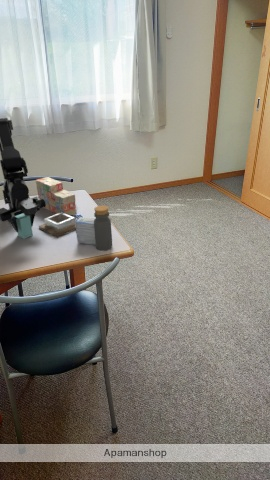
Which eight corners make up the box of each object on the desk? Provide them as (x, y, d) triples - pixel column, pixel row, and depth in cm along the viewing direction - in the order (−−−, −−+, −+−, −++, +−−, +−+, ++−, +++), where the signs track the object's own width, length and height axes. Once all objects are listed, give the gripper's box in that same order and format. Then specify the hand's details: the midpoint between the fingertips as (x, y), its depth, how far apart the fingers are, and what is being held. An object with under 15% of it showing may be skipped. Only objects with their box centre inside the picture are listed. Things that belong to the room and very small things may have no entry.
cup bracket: (45, 225, 141) (44, 218, 140) (62, 218, 147) (61, 212, 145) (58, 231, 136) (57, 224, 135) (75, 224, 142) (74, 217, 140)
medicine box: (101, 239, 132) (100, 218, 128) (97, 245, 128) (95, 223, 124) (81, 237, 133) (79, 216, 129) (77, 243, 130) (74, 221, 126)
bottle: (110, 251, 124) (108, 211, 117) (94, 250, 125) (90, 211, 118) (113, 243, 129) (111, 205, 122) (98, 242, 130) (94, 204, 123)
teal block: (17, 235, 136) (14, 216, 132) (26, 231, 139) (23, 213, 135) (23, 238, 134) (20, 219, 130) (32, 234, 136) (29, 215, 133)
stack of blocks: (77, 214, 153) (74, 187, 147) (64, 218, 149) (61, 191, 144) (51, 201, 167) (47, 176, 161) (39, 205, 163) (35, 179, 158)
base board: (39, 228, 141) (38, 225, 141) (63, 218, 149) (62, 216, 149) (57, 237, 134) (57, 234, 134) (81, 226, 142) (81, 224, 142)
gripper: (5, 203, 117) (14, 244, 124) (52, 188, 129) (57, 226, 136) (-12, 195, 123) (-3, 235, 131) (34, 182, 136) (40, 219, 143)
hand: (24, 229), depth 135 cm, fingers open, 6 cm apart
